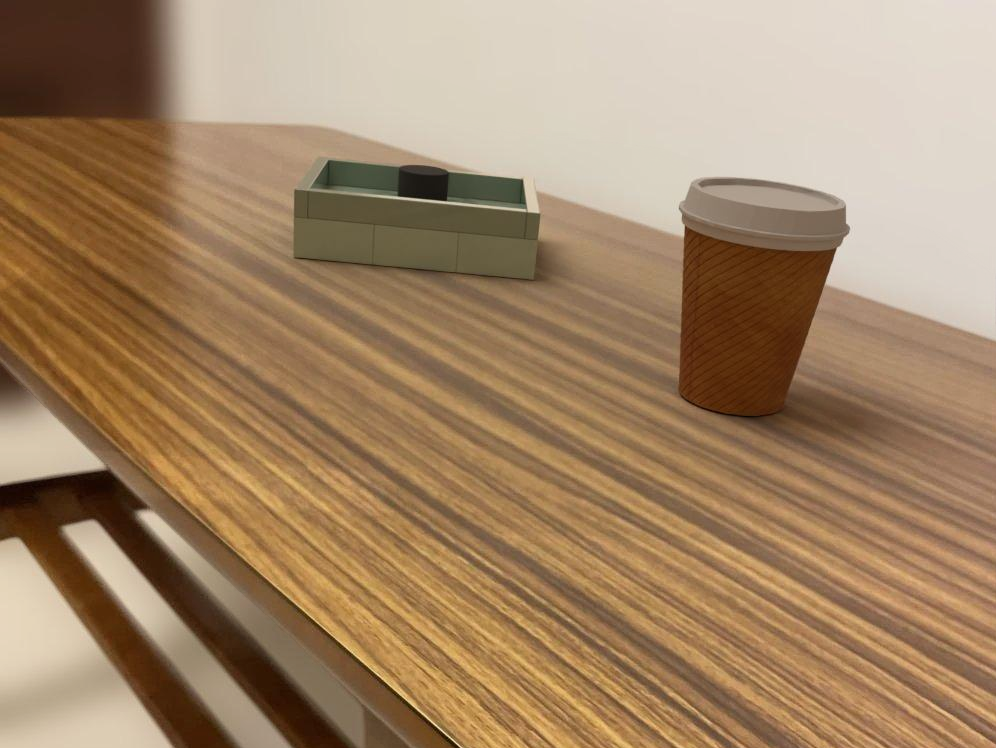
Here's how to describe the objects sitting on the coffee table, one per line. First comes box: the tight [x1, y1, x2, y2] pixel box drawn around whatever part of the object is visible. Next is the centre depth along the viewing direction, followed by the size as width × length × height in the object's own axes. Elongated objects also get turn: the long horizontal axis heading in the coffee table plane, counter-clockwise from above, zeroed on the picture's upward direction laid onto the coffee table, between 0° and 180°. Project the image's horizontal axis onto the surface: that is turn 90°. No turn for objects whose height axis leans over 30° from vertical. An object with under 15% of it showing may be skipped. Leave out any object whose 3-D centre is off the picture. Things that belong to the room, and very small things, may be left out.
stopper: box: [397, 164, 449, 202], centre depth 100 cm, size 4×4×6 cm
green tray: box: [292, 184, 539, 281], centre depth 98 cm, size 18×15×3 cm
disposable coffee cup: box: [678, 176, 851, 417], centre depth 71 cm, size 10×10×12 cm
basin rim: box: [293, 156, 541, 240], centre depth 97 cm, size 18×14×2 cm
